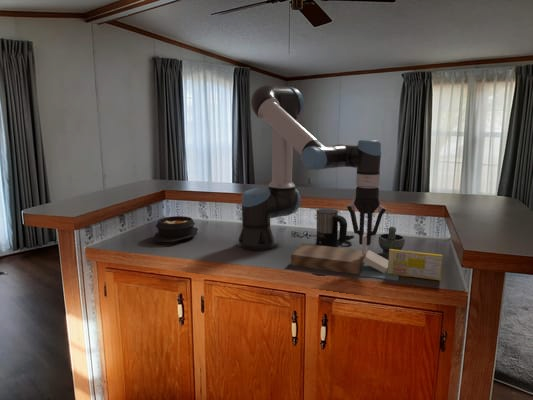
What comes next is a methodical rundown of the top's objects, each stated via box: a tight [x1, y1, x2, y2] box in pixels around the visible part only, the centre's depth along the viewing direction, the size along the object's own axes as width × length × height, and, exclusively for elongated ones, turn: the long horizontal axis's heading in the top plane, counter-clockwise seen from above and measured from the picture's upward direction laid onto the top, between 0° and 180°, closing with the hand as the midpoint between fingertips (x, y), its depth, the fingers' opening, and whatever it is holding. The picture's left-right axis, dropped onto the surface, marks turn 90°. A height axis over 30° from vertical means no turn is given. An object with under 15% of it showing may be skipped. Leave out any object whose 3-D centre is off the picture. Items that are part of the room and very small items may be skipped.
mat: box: [359, 263, 400, 282], centre depth 131 cm, size 12×16×1 cm
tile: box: [363, 249, 389, 274], centre depth 131 cm, size 8×8×2 cm
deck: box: [290, 243, 366, 275], centre depth 138 cm, size 24×14×4 cm, turn 68°
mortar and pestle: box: [378, 226, 406, 257], centre depth 146 cm, size 11×9×12 cm
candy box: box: [387, 249, 443, 282], centre depth 124 cm, size 16×2×8 cm, turn 71°
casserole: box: [151, 215, 199, 243], centre depth 170 cm, size 25×19×8 cm
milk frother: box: [315, 208, 355, 247], centre depth 159 cm, size 14×16×15 cm
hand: (364, 253), depth 132 cm, fingers closed
